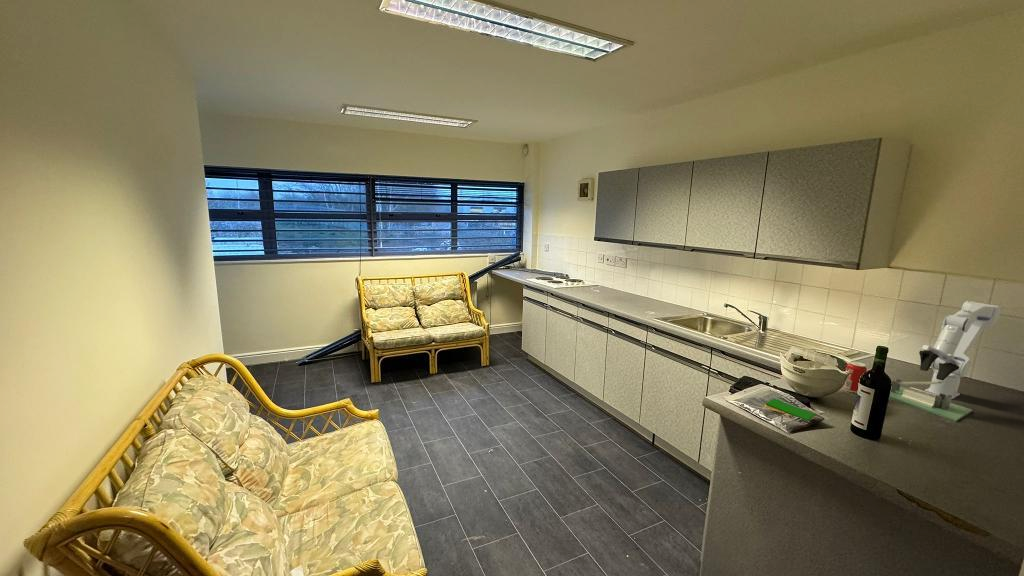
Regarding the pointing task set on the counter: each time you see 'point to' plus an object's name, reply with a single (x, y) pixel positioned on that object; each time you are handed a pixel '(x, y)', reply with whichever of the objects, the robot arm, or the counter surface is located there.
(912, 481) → the counter surface
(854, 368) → the beverage can
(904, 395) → the heatsink board
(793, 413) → the dish sponge
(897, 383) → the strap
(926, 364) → the robot arm
